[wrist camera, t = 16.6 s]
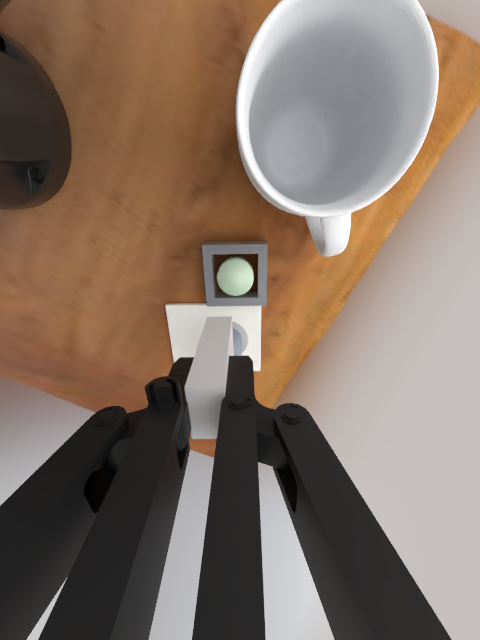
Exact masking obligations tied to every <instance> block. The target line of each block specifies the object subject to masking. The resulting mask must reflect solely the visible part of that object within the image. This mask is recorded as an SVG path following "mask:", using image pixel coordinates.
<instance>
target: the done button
mask: <svg viewBox="0 0 480 640" xmlns="http://www.w3.org/2000/svg"><path fill="white" fill-rule="evenodd" d="M217 281H218V284H219V286H220V288H221V289H222V290H223V291H224V292H225V293H227V294H229V295H233V296H239V295H242V294H245V293H246V292H247V291H249V290H250V288H251V287H252V285H253V281H254V275H253V268H252V265H251V263H250V262H249V261H248V260H247V259H246V258H244V257H242V256H238V255H234V256H230V257H228V258H226V259H225V260H224V261H223V262H222V264H221V266H220V268H219V271H218V274H217Z"/></svg>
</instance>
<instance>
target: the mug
mask: <svg viewBox="0 0 480 640" xmlns="http://www.w3.org/2000/svg"><path fill="white" fill-rule="evenodd" d="M438 79H439V69H438V58H437V49H436V45H435V40H434V36H433V33H432V30H431V26H430V24H429V22H428V19H427V17H426V15H425V12H424V11H423V9H422V8H421V6H420V4H419V3H418V1H417V0H281V1H280V2H279V3H278V4H277V6H276V7H275V8H274V9H273V10H272V11H271V13H270V14H269V15H268V16H267V18H266V19H265V21H264V22H263V24H262V25H261V27H260V28H259V30H258V32H257V33H256V35H255V37H254V39H253V41H252V43H251V45H250V47H249V50H248V52H247V55H246V58H245V61H244V64H243V67H242V71H241V75H240V78H239V84H238V89H237V97H236V127H237V138H238V147H239V152H240V155H241V160H242V162H243V166H244V168H245V171H246V174H247V175H248V177H249V179H250V181H251V182H252V184H253V186H254V187H255V188H256V190H257V191H258V192H259V193H260V194H261V196H262V197H263V198H265V199H266V200H267V201H268V202H270V203H271V204H272V205H273V206H276V207H277V208H278V209H281V210H283V211H285V212H289V213H291V214H296V215H299V216H305V218H306V221H307V224H308V227H309V230H310V233H311V236H312V239H313V241H314V244H315V246H316V248H317V250H318V252H319V253H320V254H321V255H322V256H326V257H329V256H334V255H337V254H339V253H341V252H342V251H343V250H344V249H345V248H346V246H347V243H348V239H349V234H350V227H351V213H352V212H354V211H357V210H359V209H361V208H363V207H365V206H367V205H369V204H370V203H372V202H373V201H375V200H376V199H378V198H379V197H381V196H382V195H383V194H384V193H386V192H387V191H388V190H389V189H390V188H391V187H392V186H393V185H394V184H395V183H396V182H397V181H398V180H399V179H400V178H401V176H402V175H403V174H404V173H405V171H406V170H407V169H408V167H409V166H410V165H411V163H412V162H413V160H414V158H415V157H416V155H417V154H418V152H419V150H420V148H421V146H422V144H423V142H424V139H425V137H426V135H427V132H428V129H429V126H430V123H431V120H432V117H433V114H434V110H435V105H436V99H437V92H438Z"/></svg>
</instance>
